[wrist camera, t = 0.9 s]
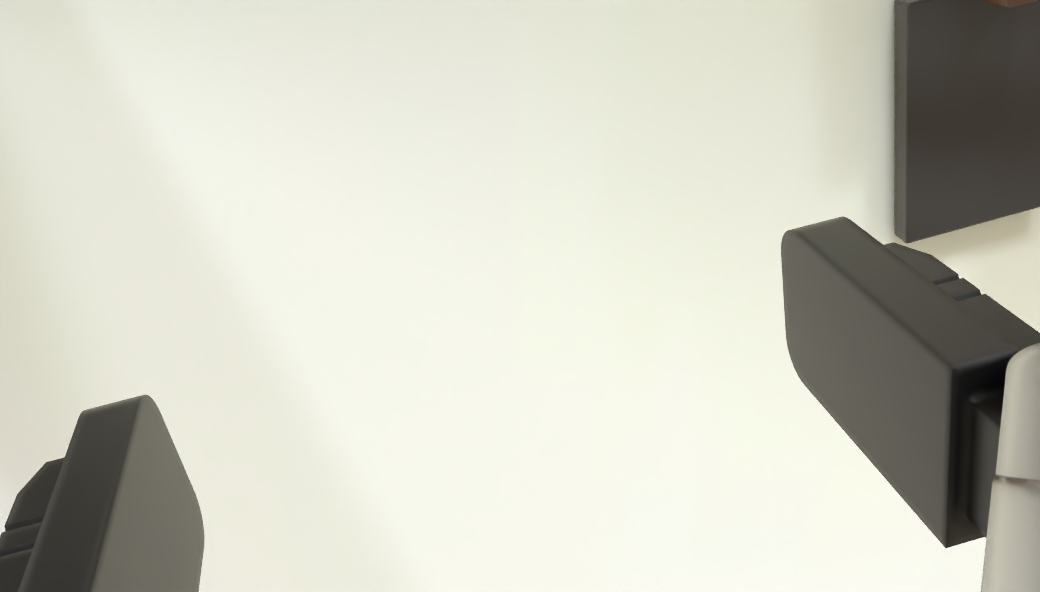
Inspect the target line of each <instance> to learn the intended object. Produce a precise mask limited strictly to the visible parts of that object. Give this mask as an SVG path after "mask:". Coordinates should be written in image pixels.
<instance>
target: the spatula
mask: <svg viewBox="0 0 1040 592" xmlns="http://www.w3.org/2000/svg"><path fill="white" fill-rule="evenodd" d="M1038 207H1040V0H895V235H896V236H897V237H899V238H900V239H901V240H903V241H904V242H905V243H911V242H914V241H918V240H922V239H925V238H929V237H933V236H936V235H940V234H943V233H947V232H951V231H954V230H958V229H962V228H965V227H969V226H972V225H976V224H980V223H983V222H987V221H991V220H994V219H998V218H1001V217H1005V216H1009V215H1012V214H1016V213H1020V212H1023V211H1027V210H1031V209H1034V208H1038Z"/></svg>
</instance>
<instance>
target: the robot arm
mask: <svg viewBox="0 0 1040 592" xmlns="http://www.w3.org/2000/svg"><path fill="white" fill-rule="evenodd" d="M781 258H782V275H783V292H784V309H785V326H786V339H787V345H788V350H789V354H790V357H791V360H792V363H793V365H794V368H795V370H796V372H797V374H798V376H799V378H800V379H801V381H802V382H803V383H804V385H805V386H806V387H807V388H808V389H809V391H810V392H811V393H812V394H813V395H814V396H815V397H816V399H817V400H818V401H819V402H820V403H821V404H822V406H823V407H824V408H825V409H826V410H827V411H828V413H829V414H830V415H831V416H832V417H833V418H834V419H835V421H836V422H837V423H838V424H839V425H840V426H841V428H842V429H843V430H844V431H845V432H846V433H847V435H848V436H849V437H850V438H851V439H852V440H853V441H854V443H855V444H856V445H857V446H858V447H859V448H860V450H861V451H862V452H863V453H864V454H865V455H866V456H867V458H868V459H869V460H870V461H871V462H872V463H873V465H874V466H875V467H876V468H877V469H878V470H879V472H880V473H881V474H882V475H883V476H884V477H885V478H886V480H887V481H888V482H889V483H890V484H891V485H892V487H893V488H894V489H895V490H896V491H897V492H898V493H899V495H900V496H901V497H902V498H903V499H904V500H905V502H906V503H907V504H908V505H909V506H910V507H911V509H912V510H913V511H914V512H915V513H916V514H917V515H918V517H919V518H920V519H921V520H922V521H923V522H924V524H925V525H926V526H927V527H928V528H929V529H930V530H931V532H932V533H933V534H934V535H935V536H936V537H937V539H938V540H939V541H940V542H941V543H942V544H943V546H944V547H945V548H948V547H951V546H955V545H958V544H961V543H965V542H968V541H972V540H975V539H978V538H982V537H986V548H985V557H984V566H983V576H982V585H981V592H1040V333H1039V332H1037V331H1036V330H1035V329H1033V328H1032V327H1031V326H1029V325H1028V324H1026V323H1025V322H1024V321H1022V320H1021V319H1019V318H1018V317H1017V316H1015V315H1014V314H1013V313H1011V312H1010V311H1008V310H1007V309H1006V308H1004V307H1003V306H1001V305H1000V304H999V303H997V302H996V301H994V300H993V299H992V298H990V297H989V296H988V295H986V294H983V295H981V293H980V290H979V289H978V288H976V287H975V286H974V285H972V284H971V283H970V282H968V281H967V280H965V279H964V278H961V279H959V277H958V274H957V273H956V272H954V271H953V270H951V269H950V268H949V267H947V266H946V265H945V264H943V263H942V262H940V261H939V260H938V259H936V258H935V257H933V256H932V255H930V254H927V253H924V252H921V251H917V250H914V249H911V248H908V247H905V246H902V245H899V244H896V243H890V244H886V245H883V244H881V243H880V242H879V241H877V240H876V239H875V238H873V237H872V236H871V235H869V234H868V233H867V232H866V231H864V230H863V229H862V228H860V227H859V226H858V225H856V224H855V223H854V222H852V221H851V220H850V219H848V218H846V217H839V218H835V219H831V220H827V221H823V222H819V223H815V224H811V225H808V226H804V227H800V228H796V229H792V230H788V231H787V232H785V234H784V236H783V238H782V243H781ZM5 529H6V532H3V533H2V534H1V536H0V592H198V591H199V583H200V575H201V566H202V558H203V550H204V528H203V521H202V515H201V511H200V507H199V503H198V500H197V497H196V495H195V492H194V490H193V487H192V485H191V483H190V480H189V478H188V476H187V473H186V471H185V469H184V466H183V464H182V462H181V460H180V457H179V455H178V453H177V450H176V448H175V446H174V443H173V441H172V439H171V436H170V434H169V432H168V429H167V427H166V425H165V422H164V420H163V418H162V415H161V413H160V411H159V409H158V407H157V405H156V403H155V402H154V401H153V399H152V398H151V397H150V396H148V395H142V396H138V397H134V398H130V399H126V400H122V401H119V402H115V403H111V404H107V405H103V406H99V407H95V408H91V409H87V410H84V411H83V412H82V413H81V414H80V416H79V418H78V421H77V424H76V427H75V430H74V433H73V436H72V438H71V441H70V444H69V447H68V450H67V453H66V456H65V458H61V459H57V460H54V461H50V462H46V463H45V464H44V465H43V467H42V468H41V469H40V470H39V471H38V472H37V473H36V474H35V475H34V477H33V478H32V479H31V480H30V481H29V482H28V483H27V484H26V485H25V487H24V488H23V489H22V490H21V491H20V492H19V493H18V494H17V496H16V499H15V501H14V504H13V506H12V509H11V511H10V514H9V516H8V519H7V521H6V524H5Z"/></svg>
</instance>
